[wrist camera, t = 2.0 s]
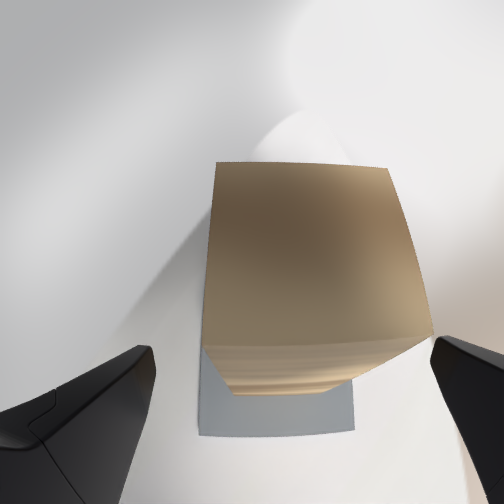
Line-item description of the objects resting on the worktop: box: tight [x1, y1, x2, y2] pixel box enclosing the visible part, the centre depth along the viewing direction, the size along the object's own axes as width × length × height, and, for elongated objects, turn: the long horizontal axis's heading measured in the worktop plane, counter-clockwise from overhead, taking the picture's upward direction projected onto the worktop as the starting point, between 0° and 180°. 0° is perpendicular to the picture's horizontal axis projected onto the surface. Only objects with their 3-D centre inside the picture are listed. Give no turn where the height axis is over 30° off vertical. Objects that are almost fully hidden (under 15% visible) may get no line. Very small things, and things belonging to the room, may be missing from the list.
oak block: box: [202, 162, 434, 396], centre depth 13 cm, size 5×5×12 cm
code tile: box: [199, 347, 355, 437], centre depth 18 cm, size 10×9×1 cm
